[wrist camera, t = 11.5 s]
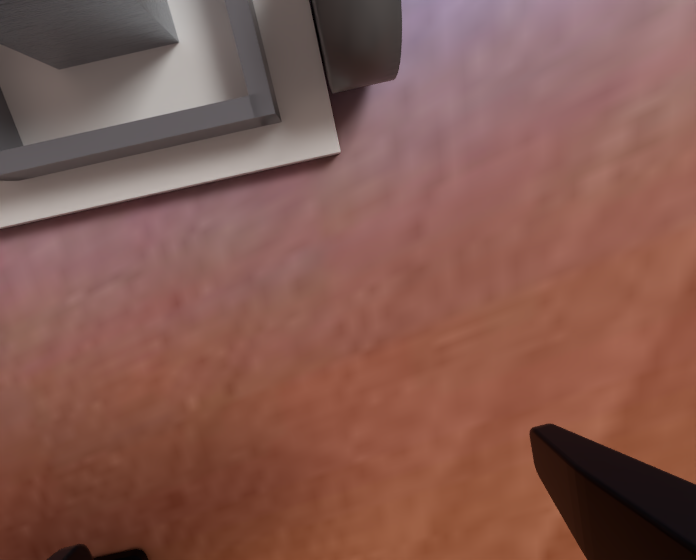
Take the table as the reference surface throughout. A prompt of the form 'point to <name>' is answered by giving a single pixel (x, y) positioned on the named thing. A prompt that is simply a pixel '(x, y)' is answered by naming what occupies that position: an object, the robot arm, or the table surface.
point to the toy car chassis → (187, 103)
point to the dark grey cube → (84, 29)
